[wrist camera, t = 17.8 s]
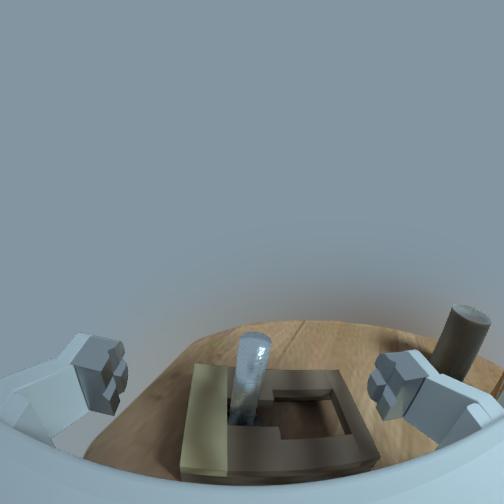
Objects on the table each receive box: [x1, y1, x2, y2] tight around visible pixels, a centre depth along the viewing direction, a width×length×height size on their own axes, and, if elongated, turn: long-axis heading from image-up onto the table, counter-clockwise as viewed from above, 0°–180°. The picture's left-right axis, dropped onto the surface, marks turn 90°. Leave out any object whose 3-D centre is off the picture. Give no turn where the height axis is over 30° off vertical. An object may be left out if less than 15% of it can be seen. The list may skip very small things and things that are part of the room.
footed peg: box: [227, 332, 271, 427], centre depth 28 cm, size 6×6×15 cm
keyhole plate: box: [180, 363, 380, 486], centre depth 30 cm, size 21×17×4 cm
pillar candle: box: [429, 304, 491, 382], centre depth 42 cm, size 10×10×15 cm
